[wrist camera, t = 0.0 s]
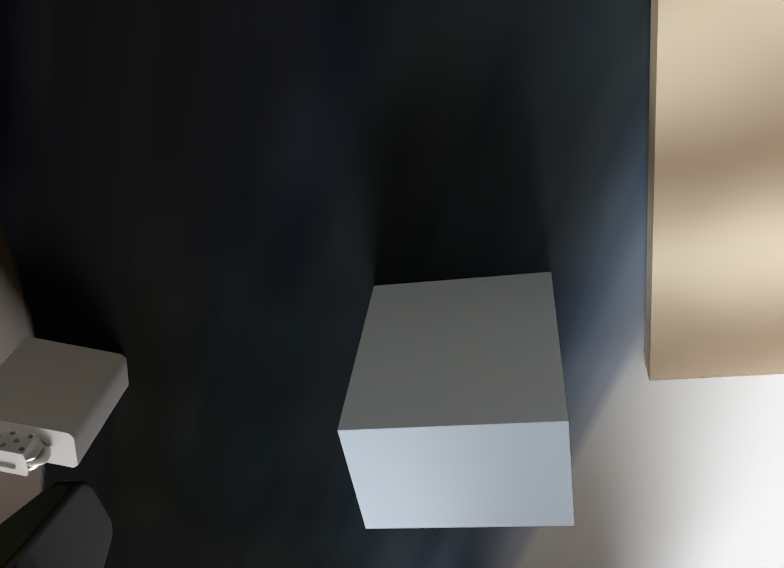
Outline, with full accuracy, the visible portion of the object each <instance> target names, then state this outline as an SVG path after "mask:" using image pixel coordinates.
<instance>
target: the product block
mask: <svg viewBox="0 0 784 568" xmlns="http://www.w3.org/2000/svg"><path fill="white" fill-rule="evenodd" d="M338 434H339V437H340V441H341V444H342V447H343V451H344V454H345V458H346V461H347V465H348V468H349V472H350V475H351V479H352V482H353V486H354V489H355V492H356V496H357V499H358V503H359V506H360V510H361V513H362V517H363V520H364V524H365V527H366V529H374V528H448V527H522V526H574V509H573V491H572V473H571V456H570V438H569V421H568V412H567V404H566V395H565V387H564V378H563V370H562V361H561V352H560V344H559V335H558V327H557V318H556V310H555V301H554V293H553V284H552V275H551V272H542V273H530V274H517V275H505V276H492V277H480V278H467V279H454V280H442V281H429V282H417V283H404V284H392V285H379V286H374V288H373V292H372V296H371V300H370V304H369V308H368V312H367V316H366V320H365V324H364V328H363V332H362V336H361V340H360V343H359V347H358V351H357V355H356V359H355V363H354V367H353V371H352V375H351V379H350V383H349V387H348V391H347V395H346V399H345V403H344V407H343V411H342V415H341V419H340V423H339V427H338Z"/></svg>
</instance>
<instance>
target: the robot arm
mask: <svg viewBox="0 0 784 568" xmlns="http://www.w3.org/2000/svg"><path fill="white" fill-rule="evenodd" d="M111 538H112V523H111V520H110V517H109V516H108V514H107V512H106V510H105V508H104V507H103V505H102V503H101V501H100V499H99V498H98V496H97V494H96V492H95V491H94V489H93V487H92V486H91V484H89V483H88V482H86V481H82V480H77V481H59V482H56V483H53V484H52V485H50V486H49V487H48V488H46V489H45V490H44V491H42V492H41V493H40V494H39V495H37V496H36V497H35V498H33V499H32V500H31V501H30V502H28V503H27V504H26V505H24V506H23V507H22V508H21V509H19V510H18V511H17V512H16V513H14V514H13V515H12V516H10V517H9V518H8V519H7V520H5V521H4V522H2V523H1V524H0V568H103V567H104V564H105V560H106V557H107V553H108V550H109V546H110V543H111Z"/></svg>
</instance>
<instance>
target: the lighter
mask: <svg viewBox="0 0 784 568" xmlns="http://www.w3.org/2000/svg"><path fill="white" fill-rule="evenodd" d="M128 385H129V384H128V373H127V361H126V358H125V357H124V356H123V355H122V354H118V353H112V352H107V351H102V350H96V349H91V348H86V347H80V346H75V345H70V344H64V343H59V342H54V341H49V340H43V339H38V338H33V337H26V338H24V339H23V340H22V341H21V342H20V343H19V345H18V346H17V347H16V348H15V349H14V350H13V351H12V353H11V354H10V355H9V356H8V358H6V359H5V361H4V362H3V363H2V364H1V365H0V471H3V472H8V473H13V474H19V475H24V476H27V475H28V474H29V473H30V471H31V470H32V469H35V468H37V467H38V466H40V465H43V464H45V463H46V462H47V463H53V464H58V465H63V466H68V467H75V466H77V465H78V464H79V463H80V461H81V459H82V458H83V456H84V455H85V453H86V451H87V450H88V448H89V447H90V445H91V443H92V442H93V440H94V439H95V437H96V435H97V434H98V432H99V431H100V429H101V428H102V426H103V424H104V423H105V421H106V420H107V418H108V416H109V415H110V413H111V412H112V410H113V408H114V407H115V405H116V404H117V402H118V401H119V399H120V397H121V396H122V394H123V393H124V391H125V389H126V388H127V386H128Z"/></svg>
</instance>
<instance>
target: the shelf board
mask: <svg viewBox="0 0 784 568" xmlns="http://www.w3.org/2000/svg"><path fill="white" fill-rule="evenodd" d="M645 365H646V368H647V372H648V376H649V380H668V379H688V378H708V377H728V376H748V375H768V374H784V0H651V35H650V92H649V148H648V204H647V261H646V317H645Z"/></svg>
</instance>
